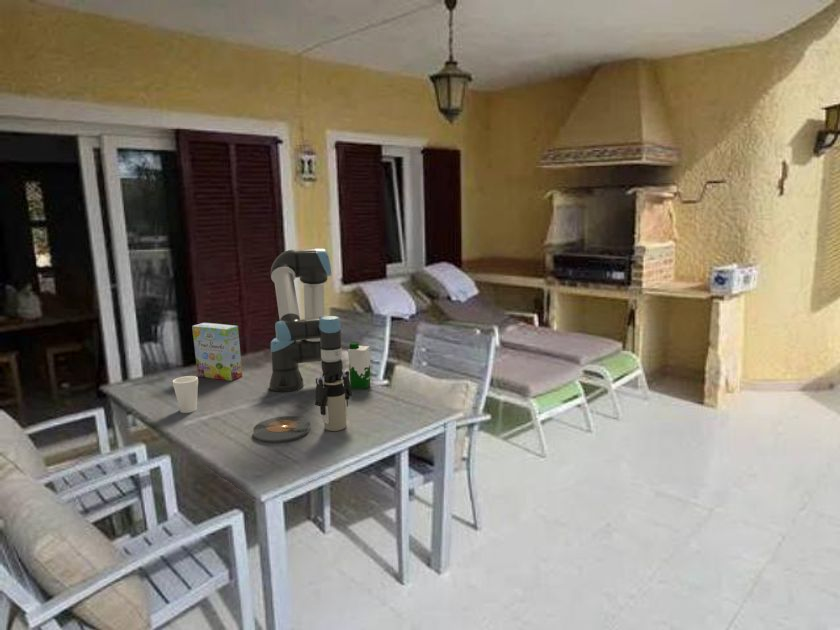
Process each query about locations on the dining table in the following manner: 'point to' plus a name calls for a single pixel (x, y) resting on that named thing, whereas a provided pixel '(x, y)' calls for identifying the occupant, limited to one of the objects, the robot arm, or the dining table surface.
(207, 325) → the snack box
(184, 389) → the foam cup
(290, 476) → the dining table surface
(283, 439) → the grey flat disc
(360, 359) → the soya milk
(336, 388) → the travel mug
